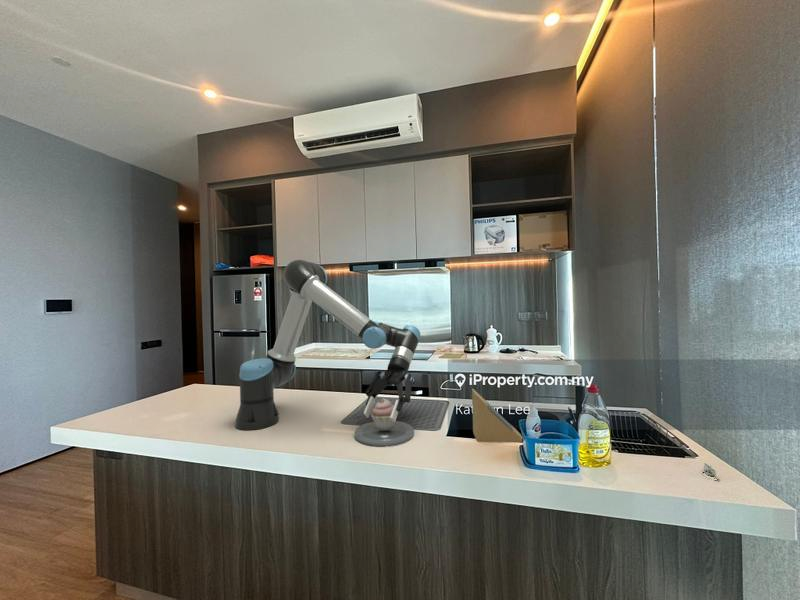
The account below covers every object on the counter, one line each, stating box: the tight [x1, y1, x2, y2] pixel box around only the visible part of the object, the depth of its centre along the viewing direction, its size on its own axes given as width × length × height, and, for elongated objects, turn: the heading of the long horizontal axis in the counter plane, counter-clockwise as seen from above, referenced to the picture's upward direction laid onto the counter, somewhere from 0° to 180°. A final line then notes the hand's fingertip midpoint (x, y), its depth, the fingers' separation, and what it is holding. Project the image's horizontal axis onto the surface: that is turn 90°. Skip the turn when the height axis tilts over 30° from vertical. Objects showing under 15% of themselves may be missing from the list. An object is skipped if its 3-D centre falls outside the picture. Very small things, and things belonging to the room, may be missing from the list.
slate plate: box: [353, 420, 415, 448], centre depth 114 cm, size 20×20×1 cm
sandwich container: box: [471, 388, 523, 443], centre depth 110 cm, size 9×15×15 cm, turn 86°
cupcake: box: [369, 398, 395, 431], centre depth 114 cm, size 9×9×10 cm
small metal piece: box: [701, 463, 719, 480], centre depth 83 cm, size 6×2×3 cm, turn 163°
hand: (378, 417), depth 111 cm, fingers open, 9 cm apart
